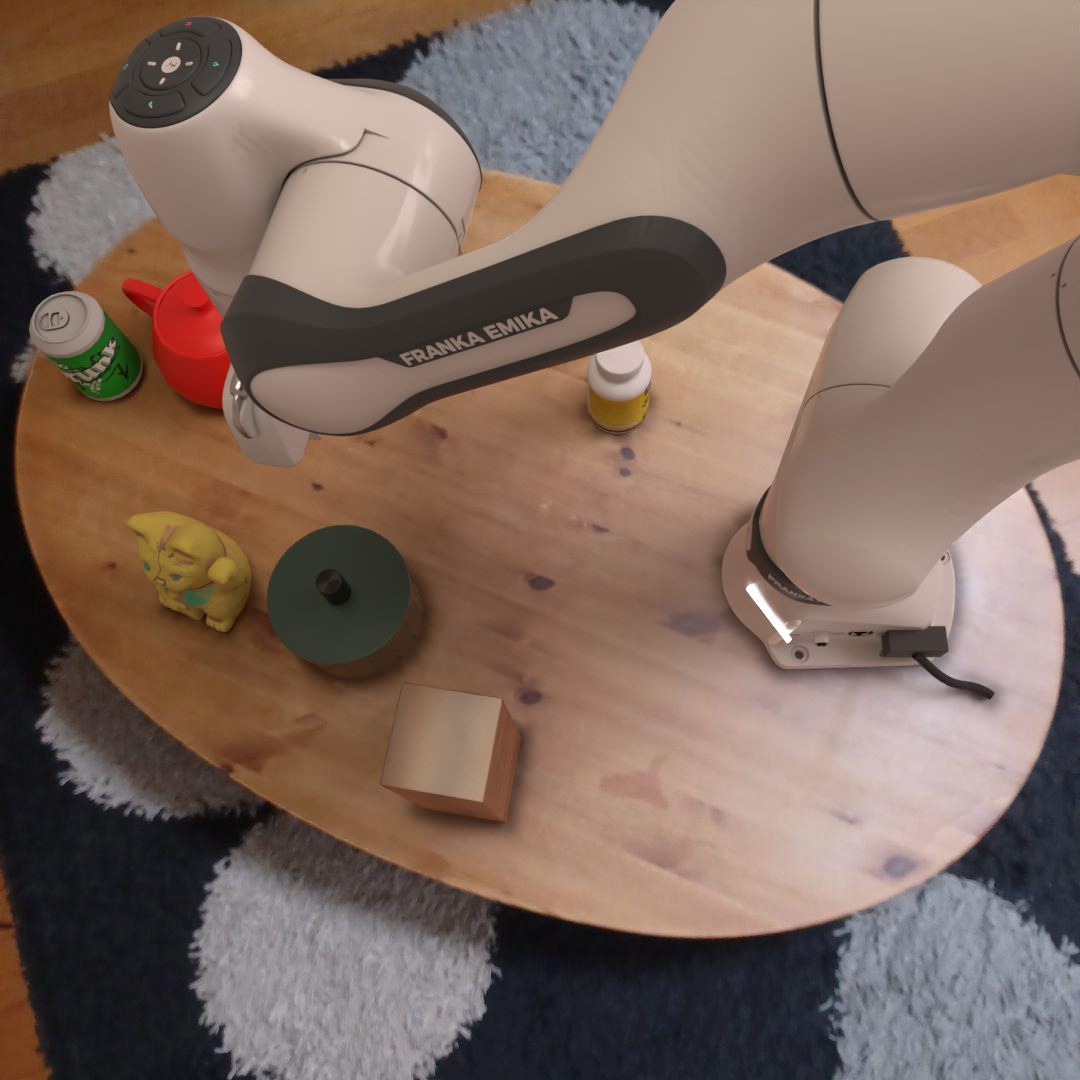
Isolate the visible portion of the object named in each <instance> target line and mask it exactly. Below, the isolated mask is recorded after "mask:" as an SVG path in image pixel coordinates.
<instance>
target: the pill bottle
mask: <svg viewBox="0 0 1080 1080" xmlns="http://www.w3.org/2000/svg"><path fill="white" fill-rule="evenodd" d="M652 370H653V369H652V364H651V360H650V359H649V357H648V355H647V354H646V352H645V350H644V346H643V344H642V342H641V341H640V340H638V341H635V342H632V343H629V344H626V345H623V346H620V347H616V348H613V349H610V350H607V351H604V352H600V353H597V354H594V355H590V358H589V360H588V362H587V366H586V389H587V411H588V415H589V418H590V419H591V421H592V422H593V424H594V425H595V426H596V427H598V428H599V429H600V430H602V431H604V432H606V433H611V434H615V435H616V434H617V435H619V434H626V433H630V432H632V431H635V429H637V428H638V427H640V425H642V423H643V422H644V421H645V419H646V417H647V415H648V412H649V403H650V393H651V385H652V384H651V382H652V374H653V373H652V372H653V371H652Z"/></svg>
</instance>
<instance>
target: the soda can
mask: <svg viewBox="0 0 1080 1080" xmlns="http://www.w3.org/2000/svg"><path fill="white" fill-rule="evenodd" d="M28 331H29V336H30V340H31V341H32V343H33V344H34V347H36V349H37V350H39V352H40V353H41V354H43V355H44V356H45V357H46V359H47V360H49V362H51V363H52V365H54V366H55V367H56V368H57V370H59V372H61V373H62V374H63V375H64V376H65V377H66V378H67V380H69V381H70V382H71V383H72V384H73V385H74V386H75V387H76V388H77V390H79V391H80V392H81V393H82V394H84V395H85V396H87V397H88V398H89V399H92V400H96V401H99V402H110V401H114V400H117V399H120V398H123V397H124V396H126V395H128V394H129V393H130V392H132V390H134V388H135V387H136V386H137V385H138V384H139V382H140V380H141V378H142V376H143V372H144V362H143V357H142V354H141V353H140V351H139V350H138V349H137V347H135V345H134V344H133V343H132V341H131V340H130V339H129V338H128V337H127V336H126V334H124V333H125V332H123V331H122V330H121V328H120V327H119V326H118V325H117V324H116V322H115V321H114V320H113V319H112V317H110V315H109V314H108V312H106V310H105V309H104V308H103V307H102V306H101V305H100V303H99V302H98V301H97V300H96V299H95V298H94V297H93V296H91V295H89V294H87V293H86V292H82V291H77V290H71V291H69V290H68V291H62V292H57V293H54V294H51V295H50V296H48V297H46V298H45V299H43V300H42V301H41V302H40V303H39V304H38V305H37V306H36V308H35V309H34V312H33V313H32V316H31V318H30V321H29V326H28Z"/></svg>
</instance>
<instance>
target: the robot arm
mask: <svg viewBox="0 0 1080 1080" xmlns="http://www.w3.org/2000/svg"><path fill="white" fill-rule="evenodd" d="M115 77H116V78H115V80H114V82H113V84H112V86H111V89H110V92H109V97H108V109H109V117H110V121H111V125H112V130H113V134H114V137H115V140H116V142H117V146H118V148H119V151H120V152H121V155H122V157H123V159H124V162H125V164H126V166H127V168H128V170H129V172H130V174H131V176H132V177H133V180H134V181H135V183H136V185H137V186H138V188H139V190H140V192H141V193H142V195H143V197H144V198H145V201H147V203H148V205H149V206H150V209H151V210H152V211H153V213H154V214H155V216H156V217H157V219H158V220H159V223H160V224H161V225H162V227H163V228H164V229H165V231H167V232H168V234H169V235H171V236H172V237H173V238H174V239H175V240H176V241H177V242H178V243H180V244H181V248H182V252H183V256H184V258H185V261H186V263H187V265H188V268H189V269H190V270H192V272H193V273H194V275H195V277H196V278H197V280H198V281H199V283H200V284H201V286H202V287H203V289H204V290H205V292H206V293H207V295H208V297H209V298H210V300H211V301H212V303H213V305H214V306H215V308H216V309H217V311H218V312H219V314H220V315H221V316H222V318H223V320H222V322H221V324H220V332H221V335H222V338H223V341H224V345H225V348H226V351H227V353H228V356H229V359H230V361H231V365H230V368H229V371H228V374H227V378H226V381H225V385H224V390H223V397H222V405H223V409H222V411H223V415H224V418H225V421H226V423H227V427H229V430H230V432H231V435H232V436H233V438H234V440H235V442H236V444H237V446H238V448H239V450H240V451H241V452H242V454H243V455H244V457H245V458H246V459H247V460H248V461H250V462H251V463H255V464H258V465H264V466H267V467H269V466H270V467H275V468H288V469H289V468H294V467H296V466H297V465H299V464H300V463H301V462H302V461H303V459H304V456H305V453H306V449H307V445H308V441H309V440H313V441H314V440H315V441H320V440H322V437H323V436H331V437H353V436H360V435H363V434H364V435H365V434H368V433H372V432H374V431H378V430H380V429H383V428H385V427H387V426H390V425H392V424H394V423H397V422H398V421H400V420H403V419H404V418H407V417H409V416H410V415H412V414H414V413H416V412H417V411H419V410H420V409H422V408H424V407H426V406H428V405H430V404H433V403H434V402H437V401H441V400H443V399H446V398H449V397H453V396H456V395H460V394H463V393H466V392H470V391H473V390H477V389H480V388H483V387H487V386H491V385H494V384H497V383H501V382H504V381H508V380H511V379H514V378H519V377H521V376H525V375H529V374H531V373H532V374H533V373H535V372H538V371H542V370H545V369H549V368H552V367H553V368H554V367H556V366H560V365H563V364H566V363H570V362H573V361H576V360H580V359H583V358H586V357H591V356H592V355H594V354H597V353H600V352H604V351H607V350H610V349H613V348H616V347H620V346H623V345H626V344H629V343H632V342H635V341H638V340H639V341H640V340H643V339H647V338H649V337H652V336H654V335H657V334H659V333H661V332H664V331H666V330H669V329H671V328H673V327H675V326H678V325H679V324H682V323H683V322H685V321H686V320H688V319H689V318H691V317H692V316H694V315H695V314H696V313H698V311H699V310H700V309H701V308H703V307H704V306H705V305H706V304H708V303H709V302H710V301H711V300H712V299H713V298H715V296H716V295H717V294H718V293H719V292H721V291H722V290H723V289H725V288H726V287H728V286H729V285H731V284H732V283H734V282H735V281H737V280H738V279H739V278H741V277H743V276H744V275H746V274H748V273H749V272H751V271H752V270H755V269H756V268H758V267H761V266H762V265H764V264H766V263H768V262H769V261H772V260H773V259H775V258H777V257H780V256H781V255H783V254H786V253H787V252H790V251H792V250H794V249H797V248H799V247H801V246H804V245H806V244H808V243H811V242H813V241H815V240H819V239H820V238H824V237H827V236H829V235H832V234H835V233H838V232H842V231H846V230H848V229H851V228H856V227H858V226H864V225H868V224H872V223H877V222H882V221H890V220H894V219H900V218H904V217H910V216H914V215H915V216H916V215H919V214H924V213H929V212H933V211H937V210H941V209H945V208H949V207H953V206H957V205H962V204H965V203H971V202H974V201H977V200H981V199H984V198H988V197H991V196H995V195H999V194H1001V193H1005V192H1007V191H1012V190H1016V189H1018V188H1022V187H1026V186H1029V185H1031V184H1034V183H1037V182H1040V181H1042V180H1047V179H1050V178H1052V177H1055V176H1058V175H1069V176H1075V177H1076V176H1077V177H1080V0H674V1H673V2H672V3H671V5H670V6H669V7H668V9H667V10H666V11H665V12H664V14H663V15H662V17H661V19H659V21H658V22H657V24H656V26H655V28H654V29H653V30H652V32H651V34H650V35H649V37H648V39H647V41H646V42H645V44H644V46H643V48H642V49H641V51H640V53H639V55H638V57H637V59H636V61H635V62H634V65H633V67H632V69H631V70H630V72H629V74H628V76H627V78H626V81H625V82H624V84H623V85H622V87H621V89H620V91H619V93H618V95H617V97H616V98H615V101H614V102H613V104H612V106H611V107H610V109H609V111H608V113H607V115H606V117H605V118H604V120H603V121H602V124H601V125H600V127H599V128H598V130H597V132H596V134H595V135H594V137H593V138H592V140H591V142H590V143H589V145H588V147H587V148H586V149H585V151H584V153H583V154H582V155H581V157H580V159H579V160H578V162H577V163H576V165H575V166H574V168H573V169H572V171H571V172H570V173H569V175H567V177H566V179H565V180H564V182H563V183H562V184H561V186H559V188H558V189H557V191H556V192H555V193H554V194H553V196H551V198H550V199H549V200H548V201H547V202H546V203H545V205H544V206H542V207H541V208H540V209H539V210H538V212H536V213H535V215H533V216H532V217H531V218H530V219H528V220H527V222H525V223H524V224H523V225H521V226H520V227H519V228H518V229H516V230H514V231H513V232H512V233H510V234H509V235H507V236H505V237H503V238H501V239H500V240H498V241H495V242H493V243H491V244H487V245H484V246H482V247H480V248H477V249H475V250H472V251H468V252H467V253H463V254H464V255H461V256H459V255H460V252H462V250H463V246H464V243H465V240H466V237H467V233H468V231H469V229H470V224H471V221H472V217H473V214H474V211H475V208H476V205H477V200H478V197H479V193H480V192H481V189H482V184H483V172H482V167H481V164H480V162H479V159H478V156H477V154H476V152H475V149H474V147H473V145H472V143H471V142H470V140H469V138H468V137H467V135H466V134H465V132H464V131H463V129H462V128H461V127H460V126H459V124H457V122H456V121H455V120H454V119H453V117H451V116H450V115H449V114H448V112H446V111H445V110H444V109H443V108H442V107H441V106H440V105H438V104H437V103H436V102H435V101H434V100H432V99H431V98H429V97H428V96H426V95H425V94H423V93H422V92H421V91H418V90H416V89H414V88H412V87H410V86H406V85H404V84H400V83H396V82H393V81H388V80H381V79H374V78H325V77H324V78H323V77H322V76H318V75H315V74H312V73H310V72H308V71H305V70H303V69H300V68H298V67H295V66H293V65H291V64H289V63H287V62H286V61H283V60H282V59H281V58H279V57H278V56H276V55H275V54H273V53H272V52H270V50H268V49H267V48H266V47H265V46H264V45H262V43H260V42H259V41H258V40H257V39H256V38H254V37H253V36H252V35H251V34H250V33H249V32H247V31H246V30H244V29H243V28H242V27H240V26H239V25H237V24H236V23H234V22H232V21H230V20H227V19H224V18H221V17H217V16H216V17H215V16H208V15H207V16H206V15H197V16H189V17H185V18H180V19H177V20H174V21H172V22H170V23H168V24H166V25H164V26H161V27H160V28H158V29H156V30H154V31H153V32H151V33H150V34H149V35H147V36H146V37H145V38H144V39H142V40H141V41H139V42H138V43H137V44H136V46H135V47H134V48H133V49H132V50H131V52H130V53H129V54H128V55H127V57H126V59H125V60H124V62H123V63H122V65H121V67H120V69H119V71H118V73H117V75H116V76H115ZM798 409H799V410H798V412H797V415H796V417H795V421H794V423H793V426H792V429H791V431H790V434H789V437H788V440H787V443H786V446H785V448H784V451H783V454H782V456H781V459H780V463H779V465H778V467H777V471H776V473H775V475H774V478H773V480H772V482H771V484H770V485H769V487H767V488H766V490H765V491H764V493H763V494H762V496H761V498H760V500H759V501H758V503H757V505H756V507H755V509H753V511H752V514H751V516H750V517H749V518H750V519H749V521H748V522H746V523H745V524H743V525H742V526H741V527H740V528H739V529H738V530H737V531H736V532H735V533H734V535H733V536H732V538H731V539H730V541H729V542H728V545H727V546H726V548H725V550H724V554H723V557H722V563H721V573H720V575H721V584H722V589H723V593H724V597H725V599H726V601H727V603H728V606H729V608H730V609H731V611H732V613H733V614H734V615H735V617H736V618H737V619H738V621H740V623H741V624H742V625H743V626H744V627H745V628H747V630H749V631H750V632H751V633H752V634H754V635H755V636H756V637H757V638H758V639H759V640H760V641H761V642H762V644H763V645H764V647H765V649H766V651H767V653H768V655H769V657H770V658H771V660H772V661H773V663H774V664H775V665H776V666H777V667H779V668H780V669H782V670H816V669H818V670H819V669H846V668H849V669H850V668H877V667H878V668H882V667H911V666H921V667H922V668H923V669H924V670H925V671H926V672H927V673H928V674H930V676H932V677H933V678H934V679H936V680H937V681H938V682H940V683H942V684H944V685H946V686H948V687H950V688H953V689H956V690H962V691H967V692H973V693H976V694H978V695H981V696H983V697H984V698H986V699H987V700H989V701H990V700H991V699H992V698H993V697H994V695H995V691H994V690H992V689H991V688H989V687H988V686H985V685H983V684H980V683H977V682H974V681H968V680H963V679H962V680H961V679H957V678H954V677H952V676H950V675H948V674H947V673H945V672H944V671H943V670H941V669H939V667H938V666H936V665H935V664H934V663H933V662H934V661H935V660H936V659H937V658H942V657H943V656H944V655H946V654H947V653H949V651H950V650H949V643H948V639H949V637H950V633H951V630H952V626H953V621H954V614H955V607H956V605H955V604H956V576H955V575H956V574H955V568H954V562H953V559H952V555H951V552H950V548H951V547H953V546H954V544H955V543H956V542H957V541H959V540H960V538H961V537H962V536H963V535H964V534H965V533H966V532H968V531H969V530H970V529H971V528H972V527H973V526H974V525H975V524H977V523H978V522H979V521H980V520H982V518H984V517H985V516H987V515H988V514H989V513H990V512H992V511H993V510H995V508H997V507H998V506H999V505H1001V504H1002V503H1003V502H1005V501H1006V500H1007V499H1008V498H1010V497H1011V496H1013V495H1014V494H1015V493H1016V492H1017V493H1018V491H1020V490H1022V488H1024V487H1026V486H1027V485H1029V484H1030V483H1032V482H1033V481H1035V480H1036V479H1039V478H1040V477H1042V476H1043V475H1046V474H1048V473H1049V472H1051V471H1053V470H1055V469H1057V468H1059V467H1062V466H1064V465H1066V464H1069V463H1073V462H1075V461H1078V460H1080V234H1078V235H1076V236H1074V237H1073V238H1071V239H1069V240H1067V241H1065V242H1063V243H1061V244H1059V245H1058V246H1056V247H1054V248H1052V249H1050V250H1048V251H1045V252H1044V253H1042V254H1040V255H1039V256H1036V257H1035V258H1032V259H1031V260H1028V261H1027V262H1025V263H1023V264H1021V265H1019V266H1017V267H1016V268H1014V269H1012V270H1010V271H1008V272H1006V273H1004V274H1001V276H998V277H997V278H995V279H993V280H991V281H989V282H987V283H985V284H984V285H982V283H980V281H979V280H977V278H975V277H974V276H973V275H971V274H970V273H969V272H968V271H966V270H965V269H963V268H962V267H960V266H958V265H956V264H953V263H951V262H949V261H947V260H943V259H940V258H935V257H929V256H904V257H897V258H893V259H889V260H885V261H883V262H880V263H877V264H875V265H873V266H872V267H870V268H868V269H867V270H865V271H864V272H863V273H862V274H861V275H860V276H859V277H858V279H857V281H856V282H855V284H854V286H853V287H852V288H851V290H850V292H849V294H848V295H847V297H846V299H845V300H844V302H843V303H842V306H841V307H840V309H839V311H838V313H837V315H836V317H835V318H834V321H833V322H832V324H831V326H830V328H829V330H828V332H827V334H826V336H825V339H824V342H823V345H822V346H821V350H820V352H819V355H818V358H817V361H816V362H815V366H814V368H813V371H812V374H811V377H810V380H809V382H808V385H807V388H806V390H805V393H804V396H803V398H802V401H801V404H800V406H799V408H798ZM796 653H800V654H801V655H802V658H798V657H797V656H796Z"/></svg>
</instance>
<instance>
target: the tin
mask: <svg viewBox="0 0 1080 1080" xmlns="http://www.w3.org/2000/svg"><path fill="white" fill-rule="evenodd" d="M410 579H411V601H410V606H409V610H408V613H407V616H406V618H405V620H404V623H403V624H402V626H401V628H400V629H399V631H398V632H397V634H396V635H395V636H394V637H393V639H392V640H391V641H390V642H389V643H388V644H387V645H386V646H385V647H383V648H382V649H381V650H379V651H378V652H376V653H375V654H373V655H371V656H370V657H368V658H365V659H363V660H361V661H358V662H354V663H351V664H345V665H332V666H331V665H322V664H317V663H313V664H314V665H315V666H317V667H319V668H320V669H322V670H323V671H325V672H327V673H328V674H330V675H331V676H333V677H338V678H341V679H344V680H352V681H359V680H360V681H361V680H362V681H363V680H370V679H374V678H377V677H380V676H381V675H382V676H383V675H385V674H387V673H388V672H390V671H392V670H394V669H395V668H396V667H398V666H399V665H400V664H402V663H403V661H405V659H406V658H407V657H408V656H409V655H410V653H411V652H412V651H413V649H414V647H415V645H416V644H417V641H418V640H419V637H420V634H421V631H422V625H423V617H424V614H423V606H422V601H421V598H420V597H421V596H420V592H419V590H418V588H417V587H416V585H415V583H414V582H413V580H412V578H411V577H410Z"/></svg>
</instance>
